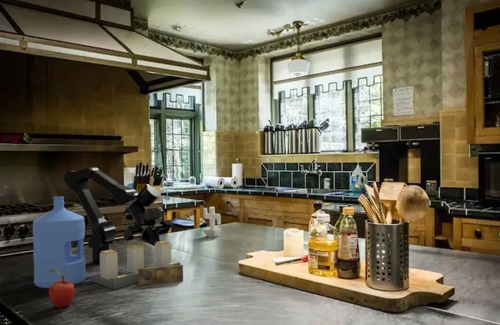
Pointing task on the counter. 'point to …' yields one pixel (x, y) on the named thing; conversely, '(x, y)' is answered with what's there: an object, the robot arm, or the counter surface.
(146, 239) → the robot arm
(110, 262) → the button left
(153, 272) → the plaque
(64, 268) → the water jug
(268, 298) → the counter surface
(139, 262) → the button middle
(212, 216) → the figurine
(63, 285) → the apple
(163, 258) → the button right
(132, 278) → the button board
